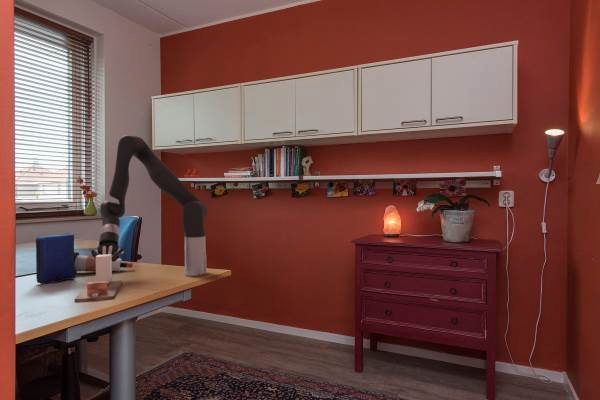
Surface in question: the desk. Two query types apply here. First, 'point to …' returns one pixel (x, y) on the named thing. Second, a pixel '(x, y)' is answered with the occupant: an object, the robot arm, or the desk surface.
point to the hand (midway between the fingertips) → (105, 269)
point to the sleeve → (104, 268)
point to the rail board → (101, 296)
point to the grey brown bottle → (94, 263)
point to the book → (55, 258)
